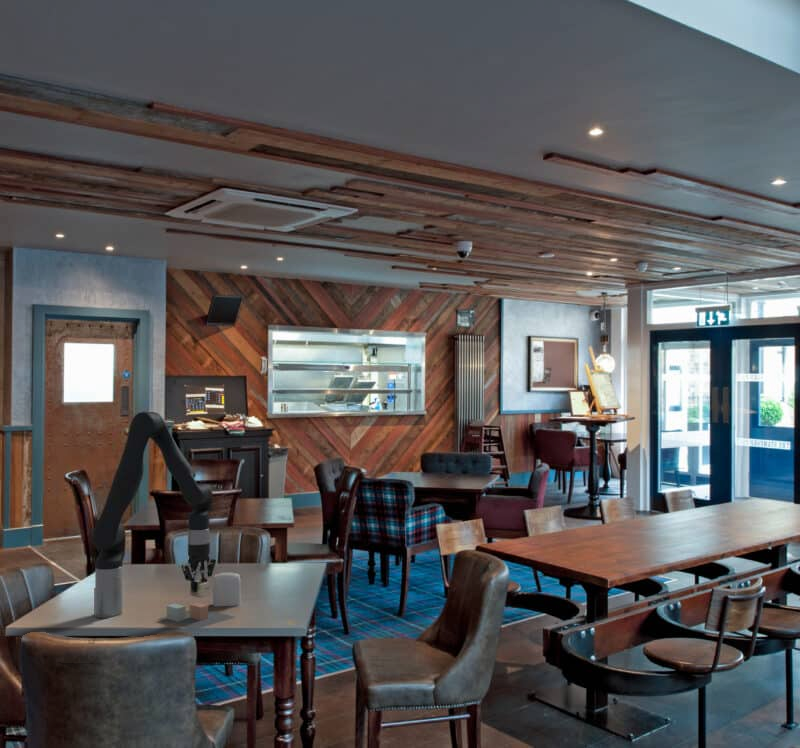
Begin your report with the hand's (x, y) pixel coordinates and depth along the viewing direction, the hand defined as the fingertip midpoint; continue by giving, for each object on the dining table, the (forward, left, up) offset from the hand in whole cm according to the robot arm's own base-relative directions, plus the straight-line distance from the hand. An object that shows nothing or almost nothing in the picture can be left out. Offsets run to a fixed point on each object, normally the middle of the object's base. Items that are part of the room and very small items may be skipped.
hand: (198, 590), depth 279 cm
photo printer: (-6, +17, -10) cm, 21 cm away
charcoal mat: (-1, -1, -10) cm, 10 cm away
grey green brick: (-6, -6, -10) cm, 12 cm away
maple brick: (0, 0, -2) cm, 2 cm away
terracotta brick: (0, 0, -10) cm, 10 cm away
